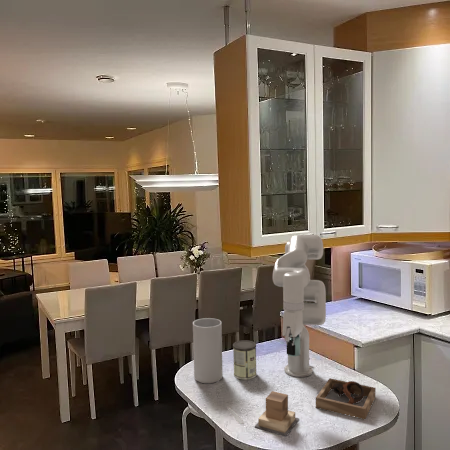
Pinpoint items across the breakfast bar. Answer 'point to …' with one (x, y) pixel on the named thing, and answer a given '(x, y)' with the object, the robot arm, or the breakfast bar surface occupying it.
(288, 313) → the robot arm
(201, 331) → the cylinder vase
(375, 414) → the breakfast bar surface
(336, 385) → the pottery mug
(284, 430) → the plinth
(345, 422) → the breakfast bar surface
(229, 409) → the butter knife
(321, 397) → the mug tray
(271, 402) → the walnut block
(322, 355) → the breakfast bar surface
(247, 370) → the coffee can
